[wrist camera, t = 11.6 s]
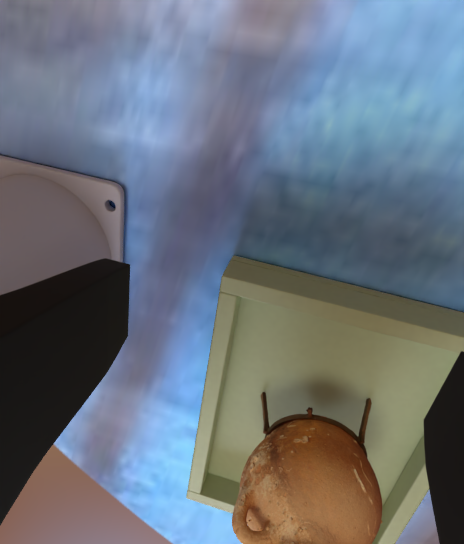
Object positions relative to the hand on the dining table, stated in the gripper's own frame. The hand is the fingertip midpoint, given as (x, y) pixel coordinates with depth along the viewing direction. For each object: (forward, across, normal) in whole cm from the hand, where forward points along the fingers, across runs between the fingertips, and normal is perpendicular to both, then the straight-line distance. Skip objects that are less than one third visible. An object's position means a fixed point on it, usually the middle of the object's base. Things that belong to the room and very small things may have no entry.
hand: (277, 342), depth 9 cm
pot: (+9, -3, +11) cm, 15 cm away
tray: (+9, -3, +11) cm, 15 cm away
